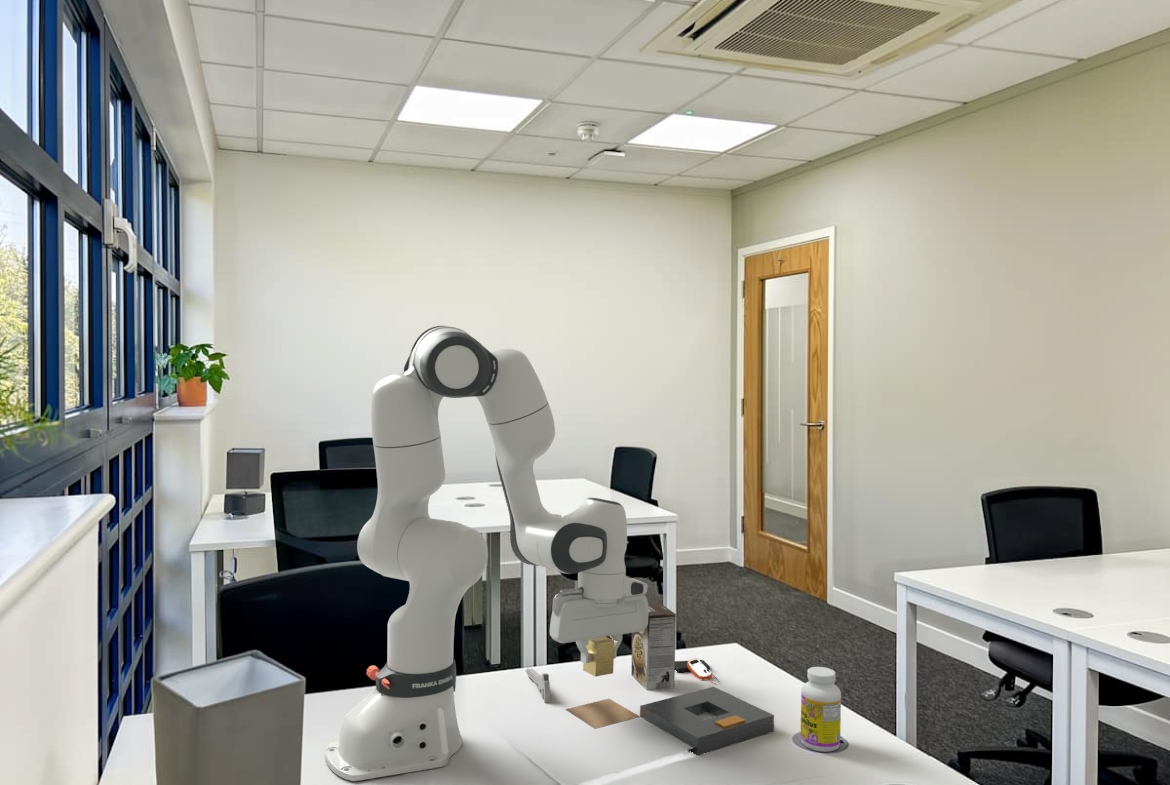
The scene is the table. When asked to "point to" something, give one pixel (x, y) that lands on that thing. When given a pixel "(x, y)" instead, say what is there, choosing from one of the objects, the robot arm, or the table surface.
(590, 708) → the copper pad
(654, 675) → the coffee box
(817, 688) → the supplement bottle
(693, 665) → the multimeter
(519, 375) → the robot arm
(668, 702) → the hole plate
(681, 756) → the table surface
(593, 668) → the brass peg
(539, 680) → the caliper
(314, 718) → the table surface
